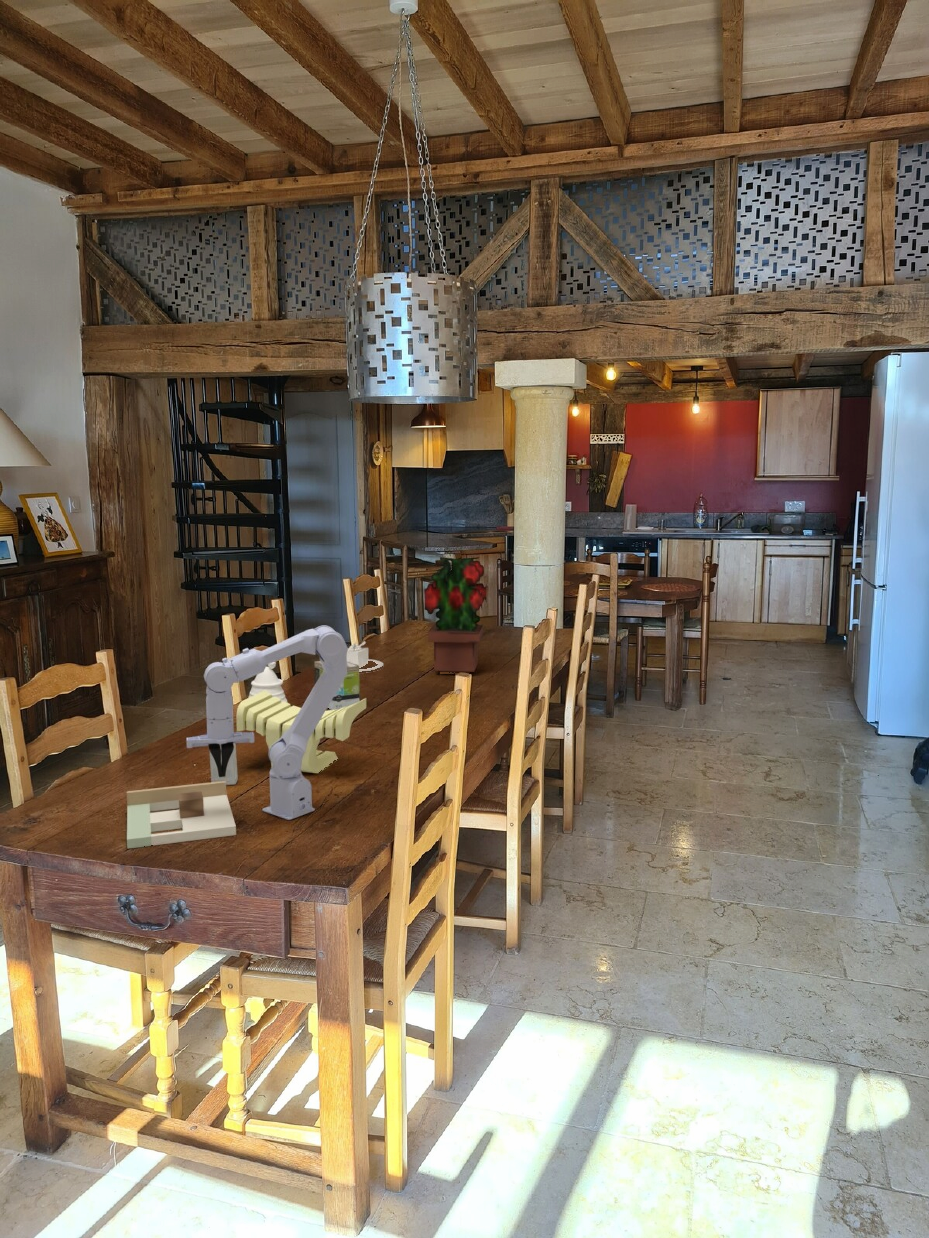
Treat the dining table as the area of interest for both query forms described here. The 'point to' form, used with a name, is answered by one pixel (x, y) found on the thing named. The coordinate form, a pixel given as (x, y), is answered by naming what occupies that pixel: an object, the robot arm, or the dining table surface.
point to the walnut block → (191, 804)
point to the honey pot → (268, 683)
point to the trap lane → (177, 815)
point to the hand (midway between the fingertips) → (221, 775)
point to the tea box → (343, 686)
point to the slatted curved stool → (278, 718)
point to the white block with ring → (361, 657)
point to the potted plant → (456, 613)
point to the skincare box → (230, 771)
